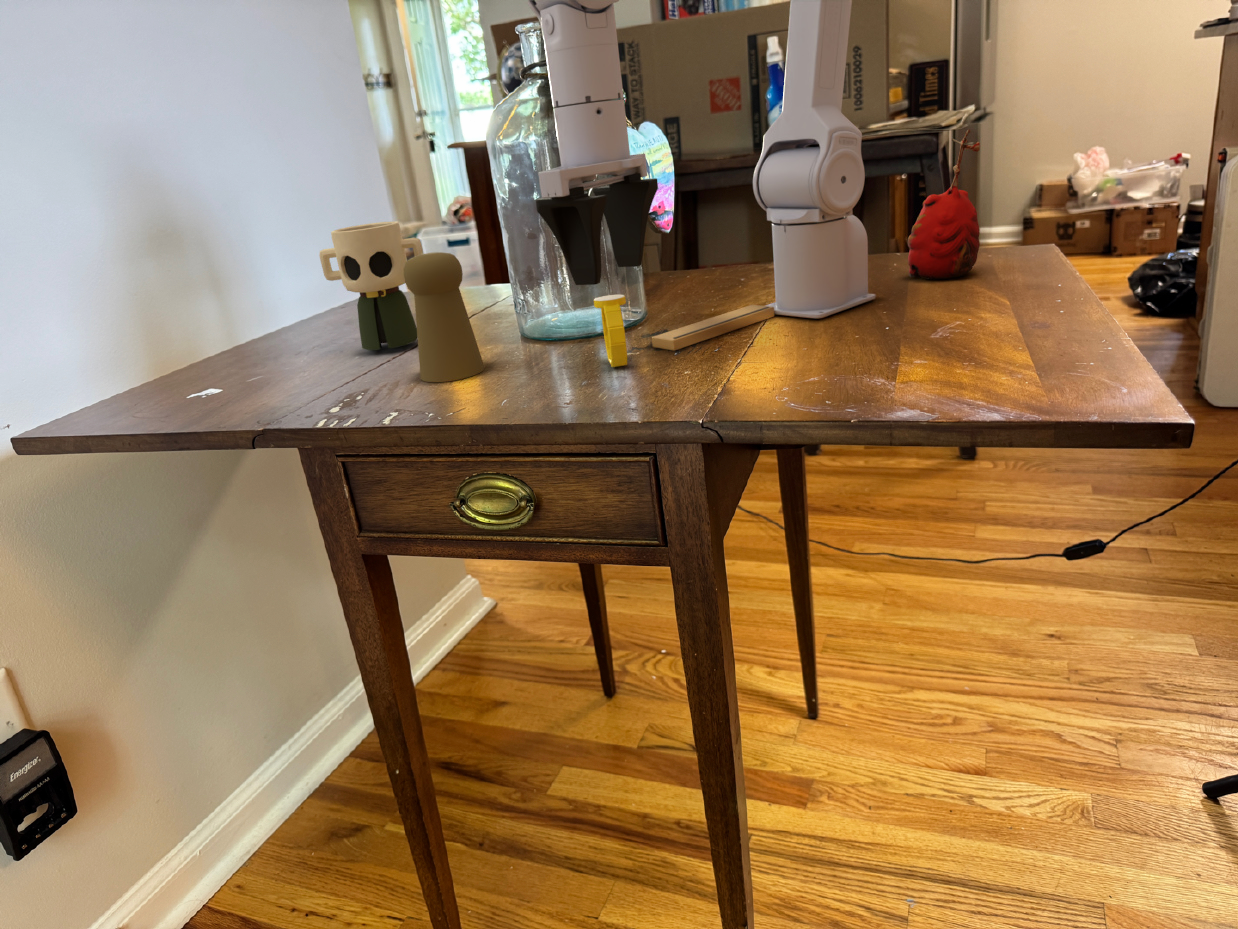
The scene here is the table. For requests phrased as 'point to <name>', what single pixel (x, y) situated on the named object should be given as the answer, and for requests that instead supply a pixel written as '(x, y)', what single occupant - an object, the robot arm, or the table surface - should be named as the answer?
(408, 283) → the cork
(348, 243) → the character mug
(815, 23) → the robot arm
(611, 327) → the watch
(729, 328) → the ruler
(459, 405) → the table surface
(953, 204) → the red bumpy oval piece
